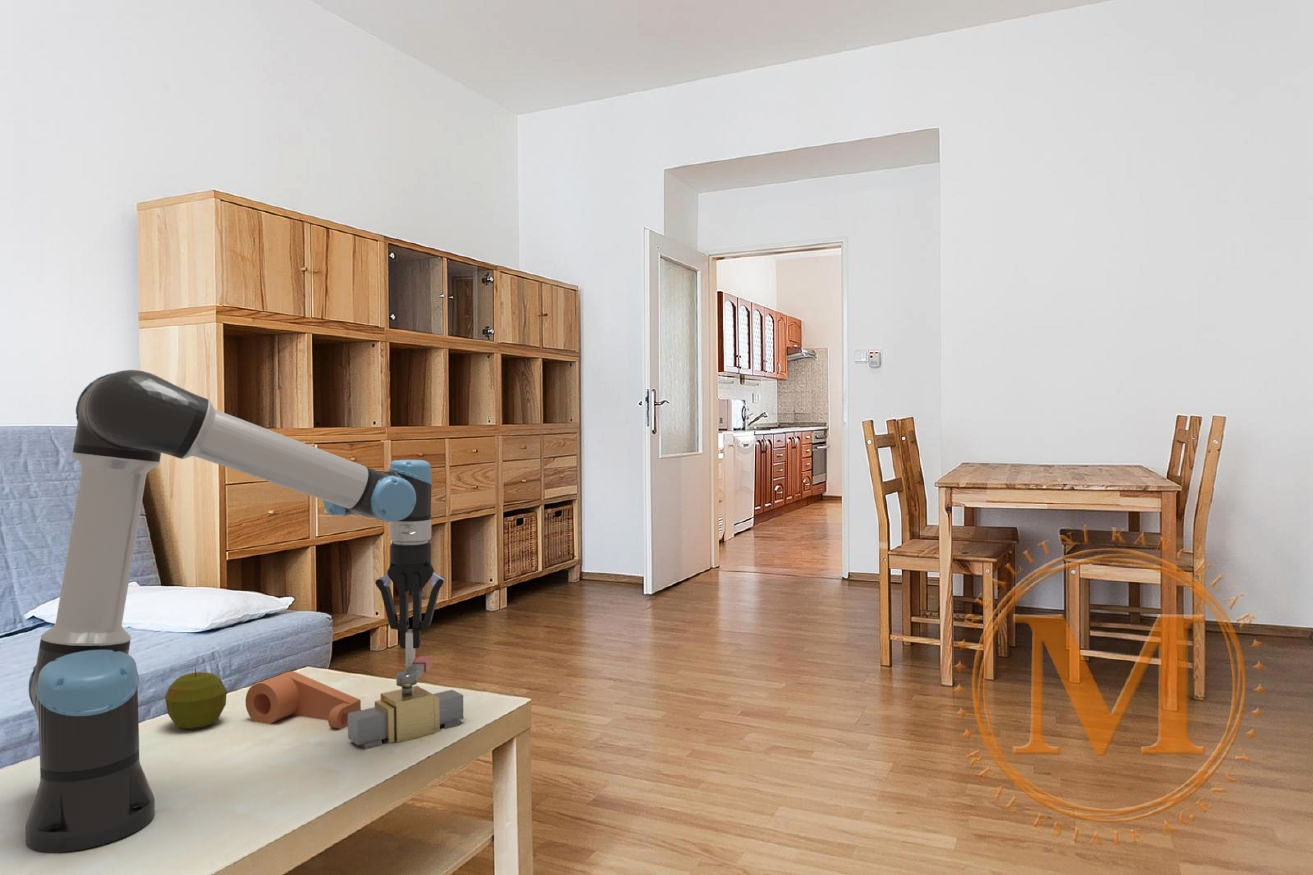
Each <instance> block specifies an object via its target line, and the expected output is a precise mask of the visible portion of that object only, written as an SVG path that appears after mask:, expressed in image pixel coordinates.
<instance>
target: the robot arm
mask: <svg viewBox="0 0 1313 875" xmlns="http://www.w3.org/2000/svg"><path fill="white" fill-rule="evenodd" d="M75 414H76V421H77V423H76V431H75V436H74V441H73V442H74V443H73V449H72V456H73V457H74V458H75V459H76V460H77V461H78V462H79V463H80V466H81V470H80V477H79V482H78V484H79V485H78V491H77V495H76V496H77V497H76V501H75V507H74V514H73V519H72V525H71V530H70V536H69V542H68V548H67V555H66V558H65V565H64V566H65V567H64V572H63V577H62V582H61V583H62V585H61V590H60V595H59V601H58V606H57V607H58V608H57V612H56V618H55V623H54V624H53V625H52V627H51V628H49V629H48V630H46V631H45V632H44V633H42V634H41V636H40V641H39V642H40V643H39V646H38V647H39V648H38V653H37V659H36V664H35V665H34V667H33V668H32V672H31V674H30V676H29V680H28V695H29V697H28V698H29V699H30V702H31V705H32V706H33V708H34V711H35V715H36V718H37V721H38V739H39V740H38V741H39V742H38V743H39V746H38V747H39V767H40V768H39V770H40V771H39V772H40V773H39V774H40V776H39V777H40V779H39V784H38V785H39V786H38V788H37V790H36V793H35V797H34V799H33V802H32V806H31V808H30V811H29V814H28V817H27V820H26V823H25V843H26V846H28V848H31V849H32V850H35V851H39V852H45V853H46V852H47V853H64V852H72V851H73V852H74V851H80V850H85V849H89V848H90V849H92V848H94V847H95V848H96V847H99V846H102V845H106V844H109V843H112V842H115V841H118V840H120V839H123V838H125V837H128V836H131V834H134V833H136V832H137V831H139V830H141V829H143V828H144V827H146V825H148V824H149V823H150V822H152V820H153V819H154V817H155V814H156V810H155V809H156V807H155V806H156V805H155V804H156V803H155V796H154V793H153V791H152V788H151V786H150V784H149V782H148V779H147V777H146V774H145V771H144V769H143V767H142V765H141V762H140V728H139V721H140V720H139V689H138V688H139V686H140V685H139V684H140V676H139V672H138V668H137V667H138V666H137V662H136V660H135V658H134V657H133V656H132V655H130V654H129V652H130V648H131V647H130V646H131V639H132V637H131V634H129V633H128V632H127V630H125V629H124V627H123V625H122V624H123V620H124V615H125V614H124V612H125V608H126V600H127V594H128V590H129V583H130V578H131V571H132V564H133V558H134V553H135V547H136V540H137V536H138V535H137V534H138V529H139V523H140V522H139V521H140V516H141V511H142V510H141V509H142V505H143V504H142V503H143V499H144V498H143V497H144V493H145V492H144V491H145V487H146V486H145V484H146V480H147V474H148V473H149V472H150V471H151V470H152V469H153V470H154V468H155V467H157V466H158V465H159V464H160V462H161V456H162V454H165V455H168V456H171V457H174V458H178V459H179V460H185V459H187V458H191V457H195V458H199V459H201V460H204V461H207V462H210V463H214V464H216V465H219V466H223V467H225V468H228V469H231V470H234V471H237V472H240V473H243V474H246V475H248V476H251V477H255V478H257V479H261V480H264V481H266V482H269V483H272V484H275V485H278V486H280V487H281V486H282V487H284V488H287V489H290V490H292V491H296V492H299V493H302V494H305V495H306V496H307V495H308V496H310V497H314V498H317V499H318V500H322V503H323V506H324V509H325V511H326V513H327V514H329V515H330V516H343V517H346V516H351V515H353V516H354V515H357V516H362V517H366V518H373V519H376V520H381V521H382V522H386V523H389V527H390V528H389V540H390V541H391V544H390V545H389V567H388V569H387V572H386V574H384V575H383V576H379V577H378V578H377V579H376V580H375V582H374V583H375V586H376V587H377V589H378V590H379V591H380V594H381V598H382V601H383V606H384V609H385V610H384V611H385V613H386V617H387V621H388V624H389V625H388V626H389V628H390V629H392V630H396V631H398V632H399V647H400V649H401V650H402V649H405V668H409V667H410V666H411V665H412V664H413V662H414V661H415V660H416V649H419V648H420V646H421V644H422V631H423V630H427V629H428V628H429V627H430V626H431V625H432V624H431V623H432V621H433V616H434V613H435V609H436V605H437V601H438V597H439V593H440V591H441V590H440V589H441V588H442V586H443V585H444V584H445V583H446V578H445V577H444V576H439V575H438V574H437V573H435V570H434V568H433V565H432V543H431V542H430V540H431V539H432V486H433V480H432V469H431V467H432V466H431V464H430V462H428V461H427V460H422V459H400V460H392V461H391V462H390V465H389V469H388V471H387V470H386V471H382V472H381V471H379V470H375V469H373V468H369V467H367V466H365V465H363V464H360V463H358V462H354V461H352V460H349V459H347V458H344V457H342V456H339V455H336V454H333V453H331V452H328V451H326V450H324V449H322V448H321V449H320V448H317V447H315V446H312V445H311V444H308V443H304V442H302V441H299V440H296V439H294V438H292V437H289V436H286V435H284V434H281V433H278V432H276V431H273V430H270V429H267V428H266V427H262V426H260V425H258V424H255V423H252V422H250V421H247V420H244V419H242V418H239V417H236V416H233V415H231V414H228V413H225V412H223V411H220V410H218V409H215V407H214V406H213V403H212V402H211V399H208V398H205V397H203V396H200V395H197V394H195V393H193V392H191V391H189V390H186V389H184V388H183V387H182V388H181V387H180V386H178V385H176V384H173V383H172V382H170V381H168V380H165V379H164V378H162V377H159V376H158V375H156V374H153V373H151V372H147V371H143V370H139V369H138V370H137V369H126V370H119V371H116V372H112V373H108V374H107V373H106V374H105V375H101V376H99V377H98V378H96V379H94V380H92V381H91V382H90V383H89V384H88V385H86V387H85V388H84V389H83V390H82V391H81V393H80V395H79V397H78V399H77V401H76V406H75ZM430 579H431V583H430V585H431V586H432V589H431V591H430V595H429V599H428V602H427V606H426V609H425V613H424V617H422V615H423V614H422V611H423V610H422V608H423V607H422V604H423V602H422V600H423V598H422V597H423V595H422V594H423V589H424V588H425V586H426V585H427V584H428V582H429V581H430ZM391 582H392V583H393V584H394V586H395V588H396V589H398V597H399V599H398V600H399V601H398V603H399V605H398V606H399V615H398V613H397V609H396V605H395V601H394V598H393V593H392V590H391V586H390V585H391ZM410 592H412V593H411V594H412V629H411V628H410V622H409V621H410V620H409V618H410V617H409V609H410V608H409V607H410V606H409V604H410V603H409V594H410ZM398 616H399V618H398ZM422 618H423V621H422ZM409 628H410V629H409Z"/></svg>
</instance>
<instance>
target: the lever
mask: <svg viewBox="0 0 1313 875" xmlns="http://www.w3.org/2000/svg"><path fill="white" fill-rule="evenodd" d="M433 667H434V655H419V656H418V657H417V658H415V661H414V662H413V664H412V665H411V666H410V667H406V669H405V670H404V671H399V672H397V673H396V674H395V675H396V676H395V677H396V679H395V681H396V686H397V687H401V688H402V687H407V686H412V687H413V686H416V685H417V684H418V679H419V678H420V677H421V676H422V675H423V674H424V673H428V671H430V670H431V669H432V668H433Z"/></svg>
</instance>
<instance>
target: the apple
mask: <svg viewBox="0 0 1313 875" xmlns="http://www.w3.org/2000/svg"><path fill="white" fill-rule="evenodd" d="M227 691H228V690H227V689H226V686H225V685H224V682H223V681H222V679H221V678H220V677H218V676H217V675H216V674H214V673H212V672H203V671H201V672H200V671H199V672H198V671H197V669H196V668H194V672H191V673H187V674H184V675H180V676H179V677H177V678H176V680H174V681H173V682H172V683H171V684H170V685H169V687H168V689H167V692H166V694H165V697H164V699H165V705H166V710H167V715H168V716H169V718H170V719H171V721H172V722H173V724H174V726H177V727H179V728H181V729H183V730H190V731H191V730H200V729H203V728H205V727H208V726H210V725H211V724H214V723H215V722H217V721H218V720H219V718H220V716H221V714H222V713H223V711H224V709H225V708H226V705H227V695H228V694H227V693H228V692H227Z"/></svg>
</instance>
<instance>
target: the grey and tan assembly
mask: <svg viewBox="0 0 1313 875" xmlns="http://www.w3.org/2000/svg"><path fill="white" fill-rule="evenodd" d="M464 716H465V715H464V695H463V694H462V693H460V692H457V691H455V690H454V689H449V690H445V691H441V692H436V693H432V692H430V691H428V690H426V689H424V688H422V687H420V686H419V685H413V686H407V687H401V689H396V690H391V691H387V692H381V693H380V699H378V700H374V707H369V708H365V709H361V710H360V711H356V712H351V713H348V726H347V739H349V740H350V741H351V742H352V743H354V744H355V745H357V746H360V747H361V749H362V748H363V749H364V750H369V749H372V748H375V747H379V746H382V742H383V741H384V742H386V743H387V744H393V743H401V742H404V741H410V740H412V739H416V738H421V737H425V736H428V735H432V734H435V733H437V732H439V731H440V728H444V729H445V730H446V729H450V728H453V727H458V726H461V720H463V719H464ZM382 740H383V741H382Z"/></svg>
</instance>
